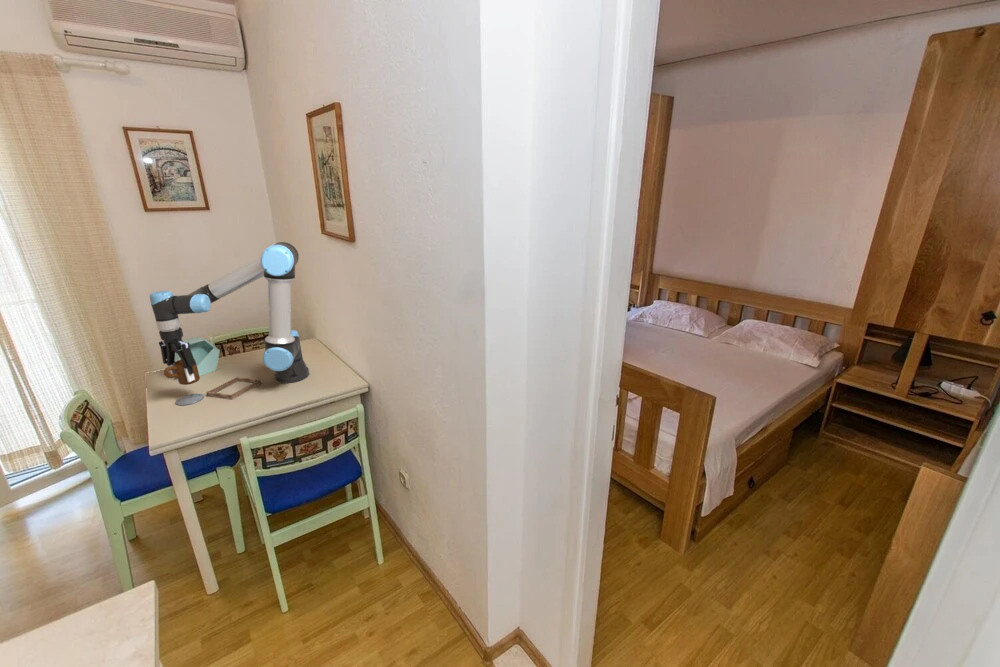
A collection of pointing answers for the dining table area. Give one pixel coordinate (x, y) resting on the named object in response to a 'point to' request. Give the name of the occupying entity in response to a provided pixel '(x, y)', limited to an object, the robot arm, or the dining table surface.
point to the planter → (202, 354)
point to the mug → (181, 373)
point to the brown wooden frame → (218, 395)
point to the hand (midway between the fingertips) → (184, 379)
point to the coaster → (189, 399)
